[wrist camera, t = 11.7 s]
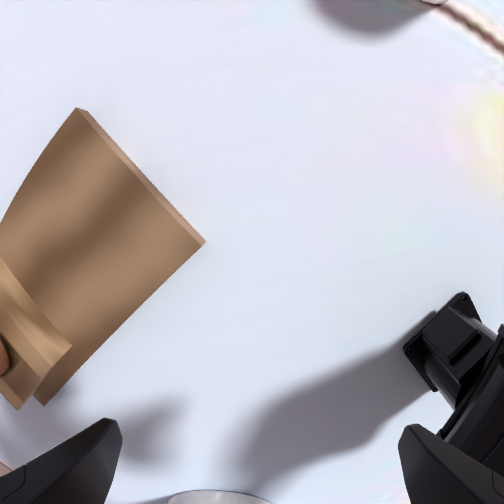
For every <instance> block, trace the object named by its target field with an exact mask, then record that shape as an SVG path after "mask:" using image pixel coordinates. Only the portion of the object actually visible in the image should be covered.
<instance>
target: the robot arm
mask: <svg viewBox="0 0 504 504" xmlns="http://www.w3.org/2000/svg"><path fill="white" fill-rule="evenodd" d="M463 297H464V299H463ZM462 299H463V300H462ZM498 332H499V333H498V335H497V334H495V333H494V332H493V331H491V330H490V329H489V328H487V327H486V326H485V325H483V324H482V322H481V319H480V317H479V315H478V313H477V311H476V309H475V307H474V305H473V302H472V300H471V298H470V296H469V295H468V294H467V293H466V292H461V293H459V294H458V295H457V296H456V297H455V298H454V299H453V300H452V301H451V303H450V304H449V305H448V306H446V307H445V308H444V309H443V310H442V311H441V312H440V313H439V314H438V315H437V316H436V317H435V318H434V319H433V320H432V321H431V322H430V323H429V324H428V325H427V326H426V327H424V328H423V329H422V330H421V331H420V332H419V333H418V334H417V335H416V336H414V337H413V338H412V339H411V340H410V341H409V342H408V343H406V344H405V346H404V347H403V352H404V354H405V355H406V356H407V358H408V359H409V360H410V362H411V363H412V364H413V366H414V367H415V368H416V370H417V371H418V372H419V374H420V375H421V376H422V378H423V379H424V380H425V382H426V383H427V384H428V386H429V387H430V389H431V390H432V391H433V392H437V391H438V390H439V391H440V393H441V394H442V395H443V397H444V398H445V400H446V401H447V402H448V404H449V405H450V406H451V408H452V409H453V410H454V412H453V414H452V415H451V417H450V418H449V419H448V421H447V422H446V424H445V425H444V426H443V428H442V429H440V430H439V431H438V433H437V434H436V435H435V434H433V433H432V432H430V431H429V430H427V429H426V428H424V427H423V426H421V425H420V424H412V425H407V426H406V427H405V429H404V431H403V433H402V436H401V438H400V440H399V443H398V450H399V455H400V460H401V465H402V470H403V476H404V481H405V485H406V489H407V492H408V495H409V498H410V502H411V504H504V324H501V326H500V328H499V330H498ZM409 348H411V350H409ZM408 350H409V351H408ZM435 386H436V387H435ZM121 446H122V435H121V432H120V429H119V426H118V423H117V421H116V420H113V419H109V418H103V419H101V420H99V421H98V422H96V423H95V424H93V425H91V426H90V427H88V428H86V429H85V430H83V431H82V432H80V433H78V434H77V435H75V436H73V437H72V438H70V439H68V440H67V441H65V442H63V443H62V444H60V445H58V446H56V447H55V448H53V449H51V450H50V451H48V452H46V453H44V454H43V455H41V456H39V457H37V458H36V459H34V460H32V461H30V462H29V463H27V464H26V465H23V466H21V467H19V468H18V469H16V470H14V471H12V472H10V473H8V474H6V475H3V476H1V477H0V504H104V503H105V500H106V497H107V495H108V492H109V489H110V487H111V484H112V481H113V478H114V474H115V470H116V466H117V462H118V458H119V454H120V450H121Z"/></svg>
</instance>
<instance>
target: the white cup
mask: <svg viewBox="0 0 504 504" xmlns="http://www.w3.org/2000/svg"><path fill="white" fill-rule="evenodd" d="M422 1H425V2H428V3H432V4H444V3H445V2H447V1H448V0H422Z"/></svg>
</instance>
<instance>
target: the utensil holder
mask: <svg viewBox="0 0 504 504" xmlns="http://www.w3.org/2000/svg"><path fill="white" fill-rule="evenodd" d="M167 504H271V503H269V502H267V501H265V500H263V499H260V498H257V497H254V496H250V495H245V494H241V493H235V492H226V491H214V490H199V491H189V492H183V493H180V494H177V495H175V496H173V497H172V498H170V499H169V500H168V502H167Z"/></svg>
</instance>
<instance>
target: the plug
mask: <svg viewBox="0 0 504 504" xmlns="http://www.w3.org/2000/svg"><path fill="white" fill-rule="evenodd" d="M8 367H9V359H8V355H7V352H6V350H5V347H4V345H3V343H2V342H1V340H0V376H1V375H2V374H3V373H4V372H5V371H7V369H8Z"/></svg>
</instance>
